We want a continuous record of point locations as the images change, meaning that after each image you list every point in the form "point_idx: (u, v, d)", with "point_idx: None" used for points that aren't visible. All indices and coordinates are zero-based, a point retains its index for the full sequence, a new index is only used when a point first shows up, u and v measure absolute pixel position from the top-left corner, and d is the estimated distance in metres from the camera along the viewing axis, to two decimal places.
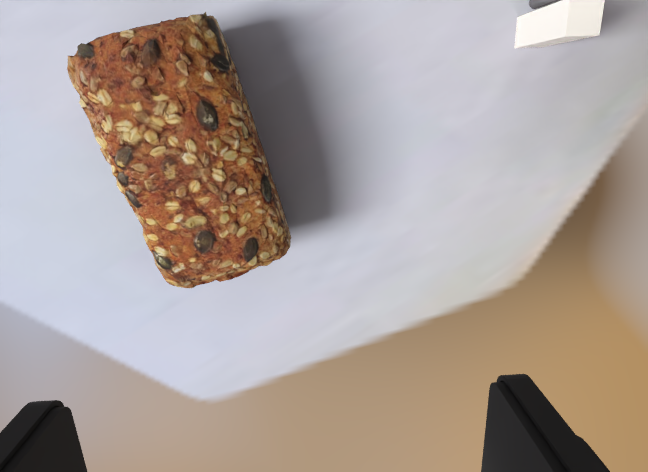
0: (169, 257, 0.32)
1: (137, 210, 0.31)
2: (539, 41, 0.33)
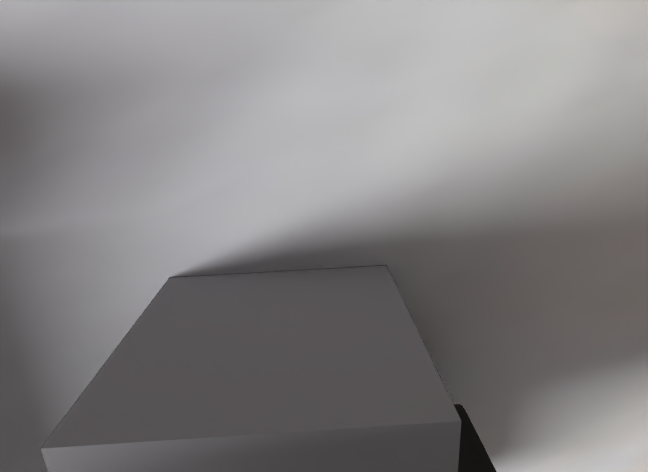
0: None
1: None
2: None
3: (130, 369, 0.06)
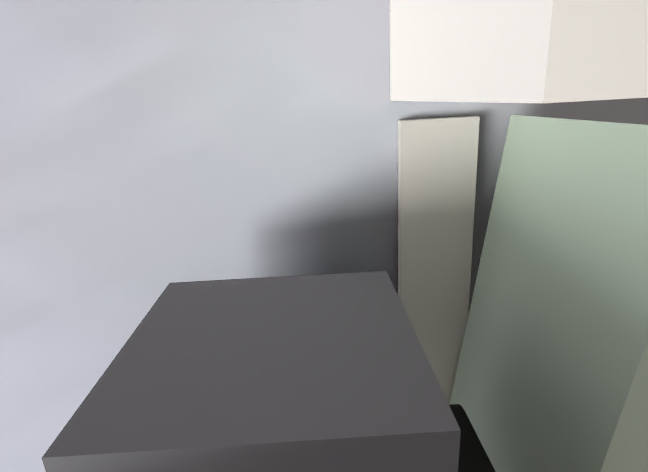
0: None
1: None
2: None
3: (131, 377, 0.06)
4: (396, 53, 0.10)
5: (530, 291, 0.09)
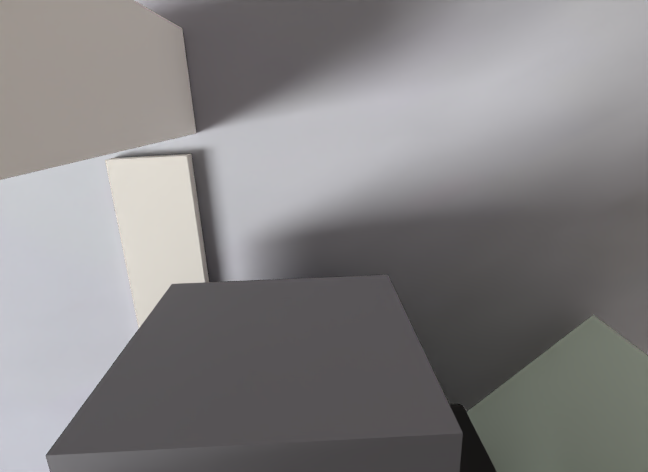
0: None
1: None
2: None
3: (134, 376, 0.07)
4: None
5: (535, 467, 0.10)
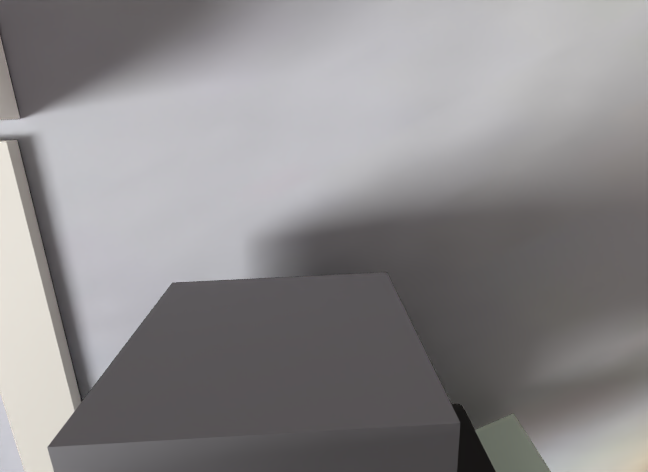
0: None
1: None
2: None
3: (134, 371, 0.07)
4: None
5: None
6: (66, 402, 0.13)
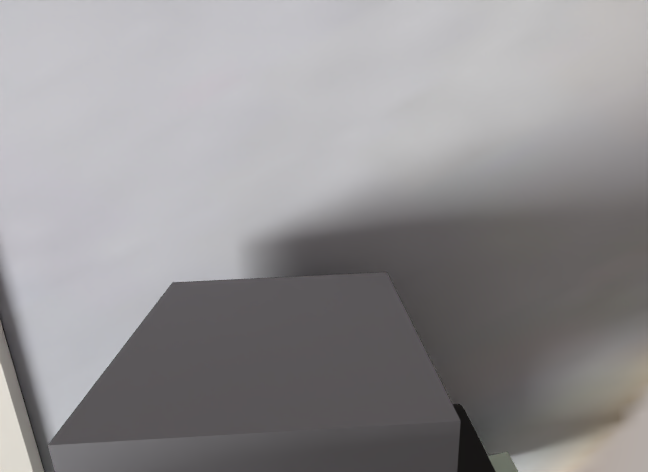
0: None
1: None
2: None
3: (135, 370, 0.07)
4: None
5: None
6: None
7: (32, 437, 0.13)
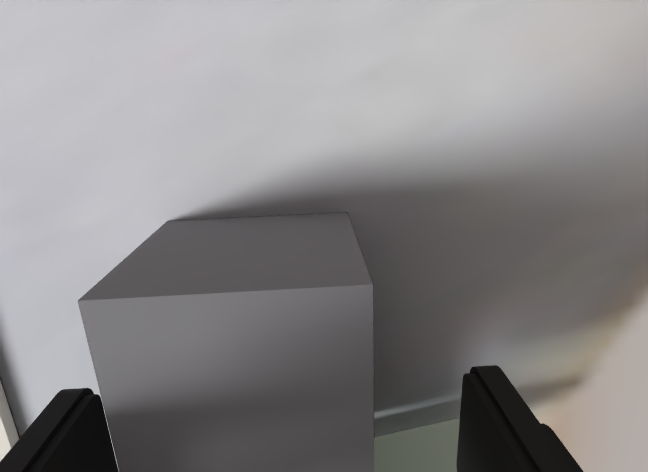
0: None
1: None
2: None
3: (138, 266, 0.09)
4: None
5: None
6: None
7: (7, 406, 0.13)
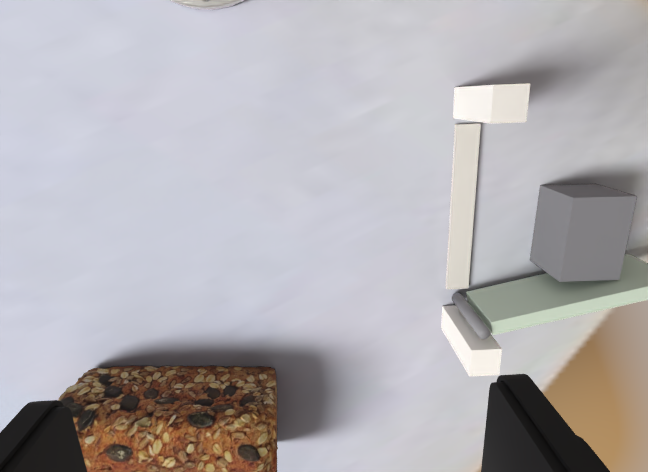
0: None
1: None
2: (455, 351, 0.37)
3: (568, 193, 0.34)
4: (457, 105, 0.34)
5: None
6: (472, 212, 0.37)
7: (469, 251, 0.39)
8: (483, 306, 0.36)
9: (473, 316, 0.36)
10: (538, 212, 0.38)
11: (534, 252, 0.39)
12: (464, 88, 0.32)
